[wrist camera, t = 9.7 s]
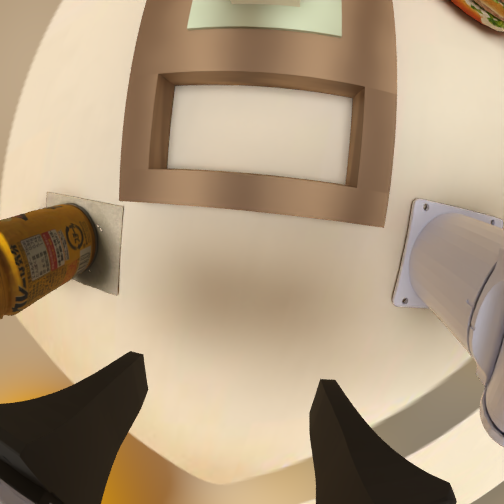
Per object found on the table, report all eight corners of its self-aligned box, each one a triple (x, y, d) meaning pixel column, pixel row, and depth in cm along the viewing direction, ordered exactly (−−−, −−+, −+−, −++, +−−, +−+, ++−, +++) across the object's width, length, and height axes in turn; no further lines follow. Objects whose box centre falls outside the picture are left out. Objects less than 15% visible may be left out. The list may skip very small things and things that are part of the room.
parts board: (375, -22, 13) (386, -43, 10) (369, 218, 18) (385, 228, 15) (175, -33, 14) (162, -53, 11) (140, 195, 20) (116, 201, 16)
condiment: (48, 191, 20) (-64, 219, 9) (124, 206, 20) (-3, 250, 8) (48, 269, 22) (-45, 323, 11) (119, 294, 22) (25, 379, 11)
